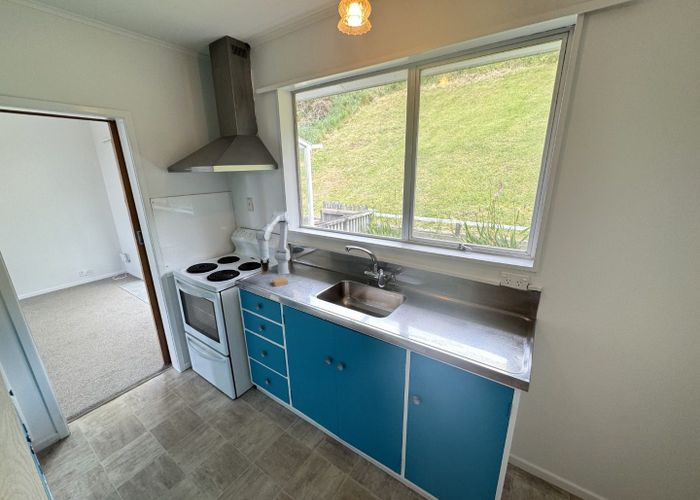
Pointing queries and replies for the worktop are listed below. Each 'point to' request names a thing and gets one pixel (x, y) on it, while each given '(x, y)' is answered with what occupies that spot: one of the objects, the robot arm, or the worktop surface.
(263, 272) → the walnut block
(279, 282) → the peach slab
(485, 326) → the worktop surface
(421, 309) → the worktop surface
